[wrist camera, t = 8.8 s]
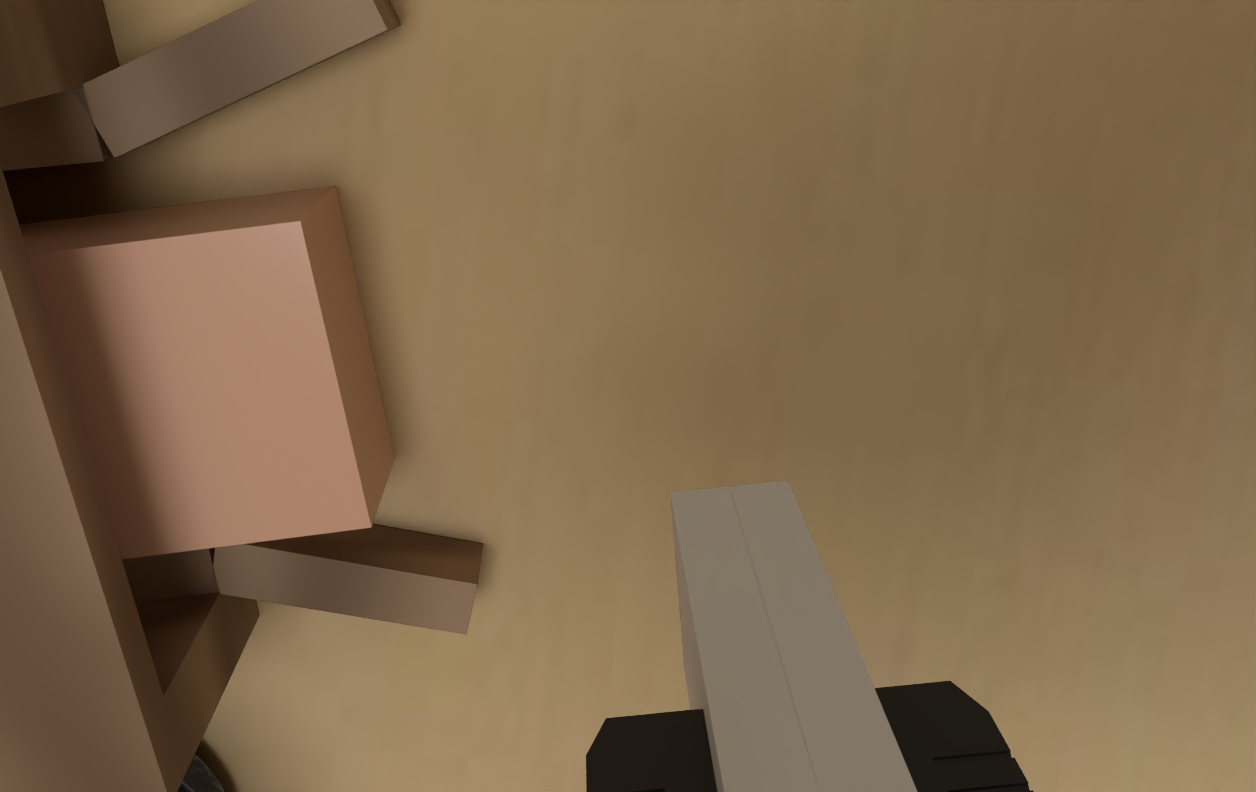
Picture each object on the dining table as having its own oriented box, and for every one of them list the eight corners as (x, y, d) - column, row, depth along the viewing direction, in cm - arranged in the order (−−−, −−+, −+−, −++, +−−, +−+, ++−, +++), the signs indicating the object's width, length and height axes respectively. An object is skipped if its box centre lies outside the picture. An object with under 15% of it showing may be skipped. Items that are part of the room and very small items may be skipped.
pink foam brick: (338, 182, 25) (300, 220, 21) (396, 452, 28) (371, 527, 24) (-262, 257, 25) (-407, 308, 21) (-146, 520, 27) (-256, 607, 24)
